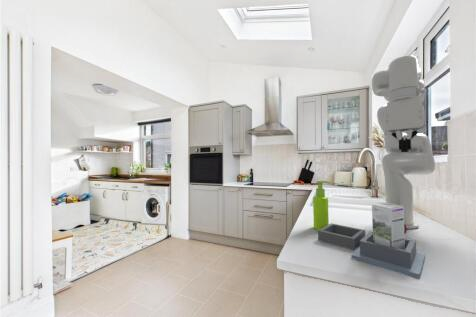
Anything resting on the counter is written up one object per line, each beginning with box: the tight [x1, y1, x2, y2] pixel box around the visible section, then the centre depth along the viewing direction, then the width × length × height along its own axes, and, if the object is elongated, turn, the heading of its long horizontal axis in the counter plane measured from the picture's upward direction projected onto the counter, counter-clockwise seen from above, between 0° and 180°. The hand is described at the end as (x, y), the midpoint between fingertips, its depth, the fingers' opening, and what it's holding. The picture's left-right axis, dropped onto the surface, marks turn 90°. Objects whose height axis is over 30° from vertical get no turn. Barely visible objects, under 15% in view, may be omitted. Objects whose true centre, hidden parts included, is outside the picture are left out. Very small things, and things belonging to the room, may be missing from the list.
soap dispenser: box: [312, 180, 331, 231], centre depth 87 cm, size 6×7×20 cm
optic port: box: [350, 231, 426, 279], centre depth 60 cm, size 15×15×5 cm
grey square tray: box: [317, 223, 366, 251], centre depth 74 cm, size 12×12×4 cm
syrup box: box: [371, 202, 406, 250], centre depth 60 cm, size 6×6×14 cm
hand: (405, 151), depth 67 cm, fingers closed
